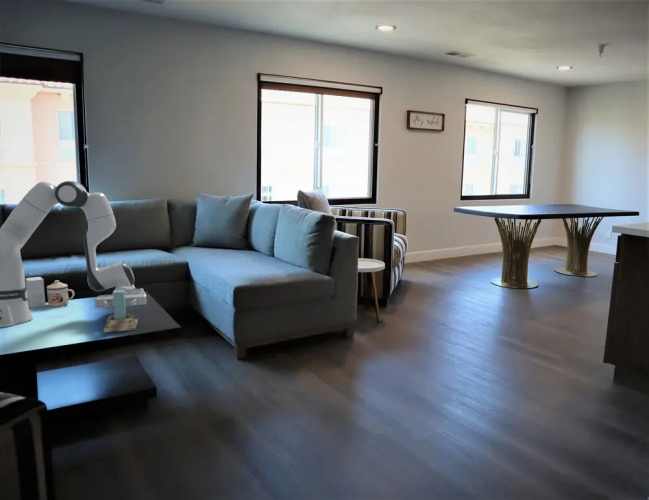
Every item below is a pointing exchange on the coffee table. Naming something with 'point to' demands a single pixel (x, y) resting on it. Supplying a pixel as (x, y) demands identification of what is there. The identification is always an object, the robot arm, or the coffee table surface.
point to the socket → (120, 323)
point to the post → (119, 304)
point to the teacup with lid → (58, 294)
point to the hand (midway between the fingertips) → (119, 304)
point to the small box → (35, 292)
